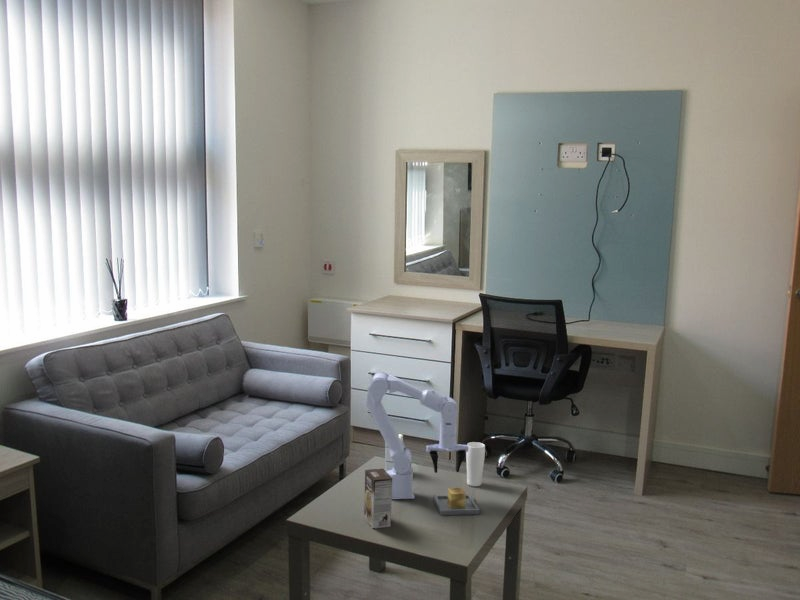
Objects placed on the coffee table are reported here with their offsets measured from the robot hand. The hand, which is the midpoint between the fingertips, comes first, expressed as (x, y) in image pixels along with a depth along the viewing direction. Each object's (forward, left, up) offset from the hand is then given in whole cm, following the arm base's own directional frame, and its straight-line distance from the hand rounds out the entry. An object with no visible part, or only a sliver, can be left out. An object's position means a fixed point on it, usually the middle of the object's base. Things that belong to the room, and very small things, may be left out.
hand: (446, 471), depth 249 cm
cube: (+2, -8, -9) cm, 12 cm away
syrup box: (-15, +25, -10) cm, 31 cm away
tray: (+2, -8, -9) cm, 13 cm away
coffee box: (-26, -18, -10) cm, 33 cm away
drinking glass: (+13, +11, -10) cm, 19 cm away
